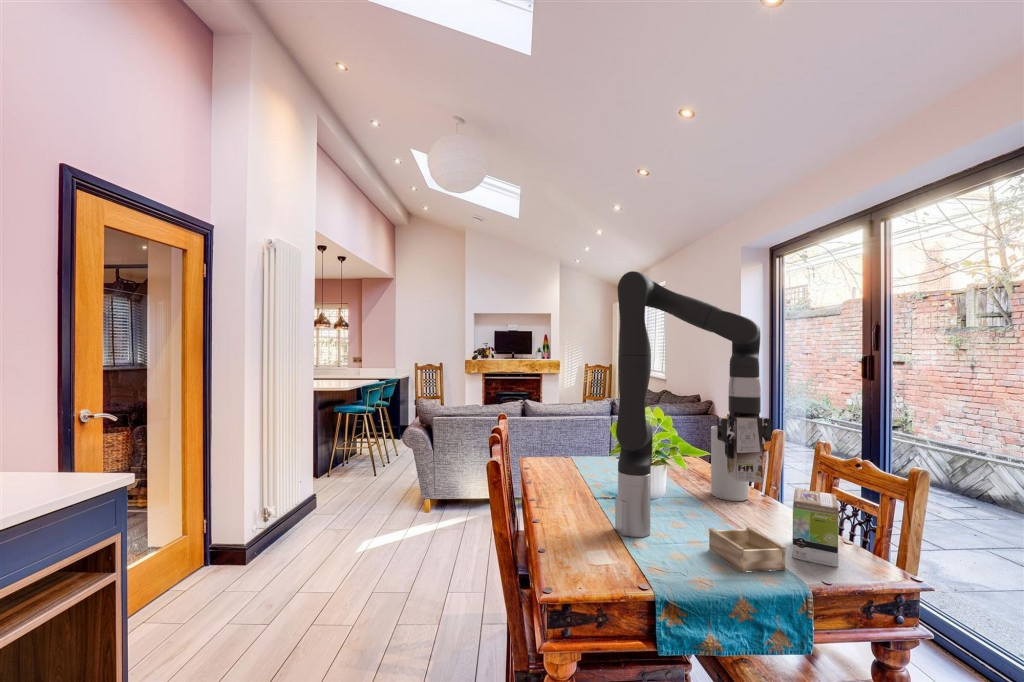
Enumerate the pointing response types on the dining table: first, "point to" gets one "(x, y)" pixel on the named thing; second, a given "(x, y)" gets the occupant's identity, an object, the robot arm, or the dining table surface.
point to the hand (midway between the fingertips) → (744, 458)
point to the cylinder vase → (724, 474)
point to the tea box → (815, 527)
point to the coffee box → (746, 449)
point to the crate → (747, 549)
